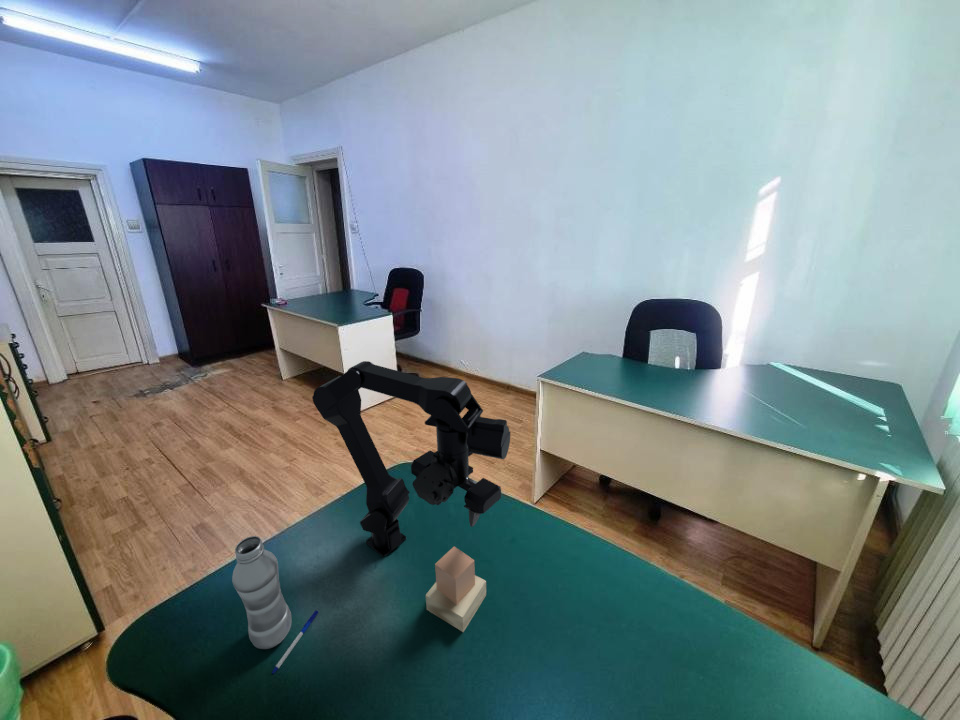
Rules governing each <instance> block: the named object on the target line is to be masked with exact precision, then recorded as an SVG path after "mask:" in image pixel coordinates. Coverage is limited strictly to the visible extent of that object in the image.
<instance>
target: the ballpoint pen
mask: <svg viewBox="0 0 960 720" xmlns="http://www.w3.org/2000/svg"><path fill="white" fill-rule="evenodd" d="M318 614H319V611H318V610H315V611H313V613H312V614H311V616H310V617H309V618H308V619H307V620H306V622H305V624H304V625H303V627H302V628H301V630H300V631H299V633H298V634H297V635H296V637H295V638H294V640H293V642H292V643H291V644H290V646H289V647H288V648H287V650H286V651H285V652H284V654H283V655H282V657H281V658H280V659H279V660H278V662H277V663H276V664H275V666H274V668H273V670H272V671H271V674H273V675H274V674H275V673H277V671H278V670H279V669H280V667H281V666H282V665H283V663H284V662H285V660H286V659H287V657H288V656H289V655H290V653H291V652H292V651H293V649H294V648H295V646H296V645H297V644H298V642H299V641H300V639H301V638H302V636H304V634H305V633H306V631H307V630H308V628H309V627H310V625H311V624H312V623H313V621H314V620H315V618H316V617H317V616H318Z"/></svg>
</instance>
